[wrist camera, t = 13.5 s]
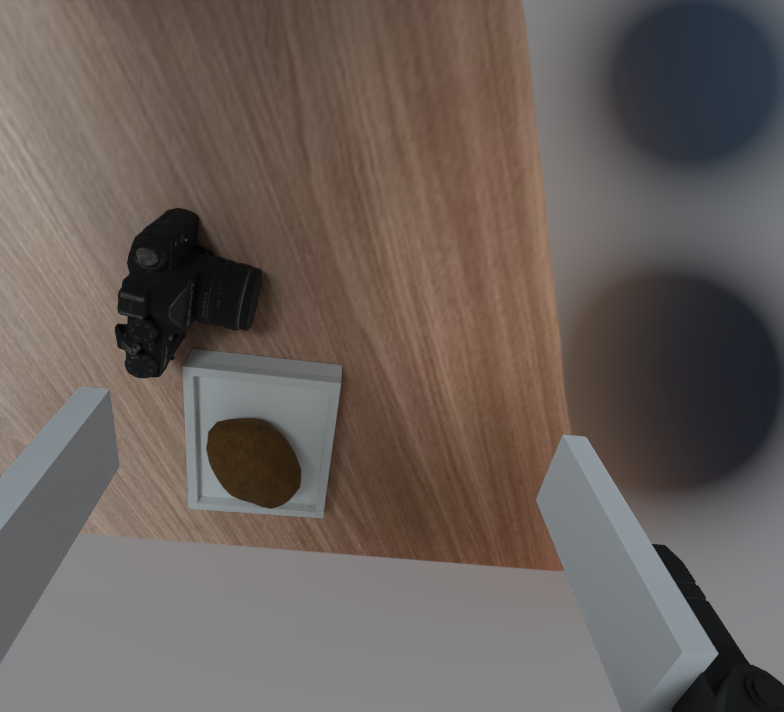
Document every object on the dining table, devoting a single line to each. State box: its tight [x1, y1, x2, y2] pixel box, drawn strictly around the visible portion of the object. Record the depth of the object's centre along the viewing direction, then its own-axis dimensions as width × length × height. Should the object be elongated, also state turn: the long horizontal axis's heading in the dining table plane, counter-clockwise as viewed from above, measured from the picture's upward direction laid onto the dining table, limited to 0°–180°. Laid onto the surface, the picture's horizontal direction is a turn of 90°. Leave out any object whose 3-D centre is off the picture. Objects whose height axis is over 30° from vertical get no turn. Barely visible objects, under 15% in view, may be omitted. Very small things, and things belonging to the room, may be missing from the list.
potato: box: [206, 418, 301, 509], centre depth 54 cm, size 8×12×8 cm, turn 41°
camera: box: [115, 208, 262, 378], centre depth 46 cm, size 14×11×10 cm
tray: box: [182, 349, 342, 518], centre depth 58 cm, size 20×16×4 cm
